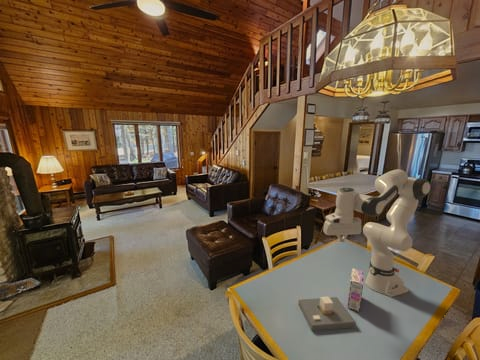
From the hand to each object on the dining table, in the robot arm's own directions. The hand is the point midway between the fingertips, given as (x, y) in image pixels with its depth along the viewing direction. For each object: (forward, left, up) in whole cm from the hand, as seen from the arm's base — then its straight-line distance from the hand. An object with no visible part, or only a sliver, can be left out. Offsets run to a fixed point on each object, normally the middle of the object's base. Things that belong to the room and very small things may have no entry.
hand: (341, 241), depth 111 cm
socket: (+13, +12, -34) cm, 38 cm away
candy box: (-8, +5, -34) cm, 36 cm away
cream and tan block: (+13, +12, -34) cm, 38 cm away
